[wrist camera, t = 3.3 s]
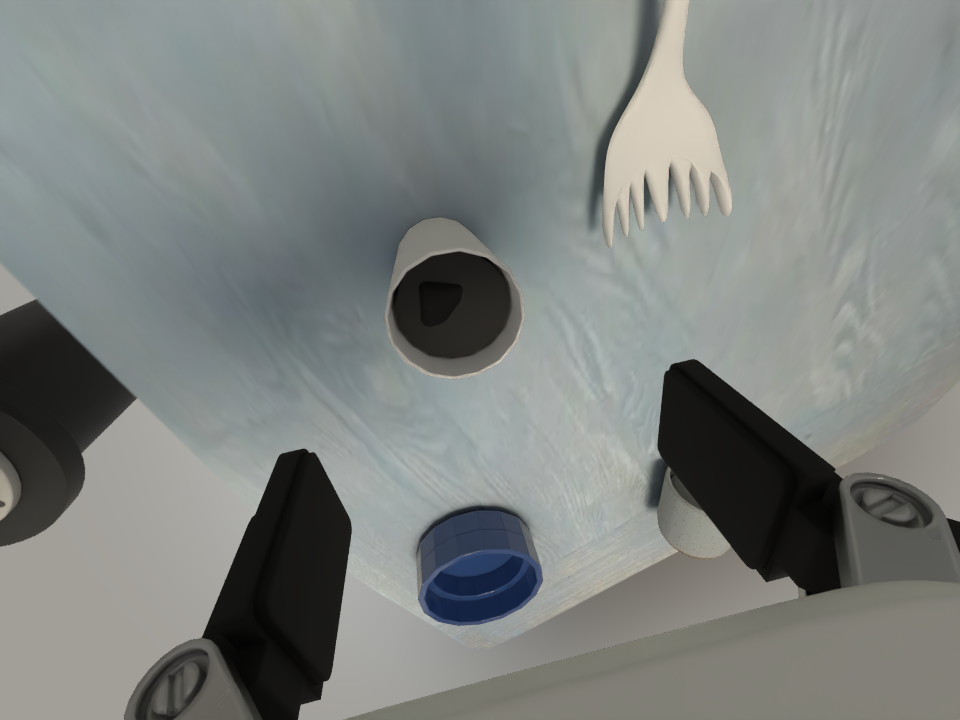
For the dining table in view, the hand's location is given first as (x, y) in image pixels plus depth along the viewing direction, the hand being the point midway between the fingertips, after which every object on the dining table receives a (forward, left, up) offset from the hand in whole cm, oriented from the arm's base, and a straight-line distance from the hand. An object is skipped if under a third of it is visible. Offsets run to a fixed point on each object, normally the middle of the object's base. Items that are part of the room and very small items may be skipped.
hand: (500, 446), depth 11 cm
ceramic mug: (+36, -5, -19) cm, 41 cm away
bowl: (+20, -24, -19) cm, 37 cm away
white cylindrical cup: (0, 0, -19) cm, 19 cm away
